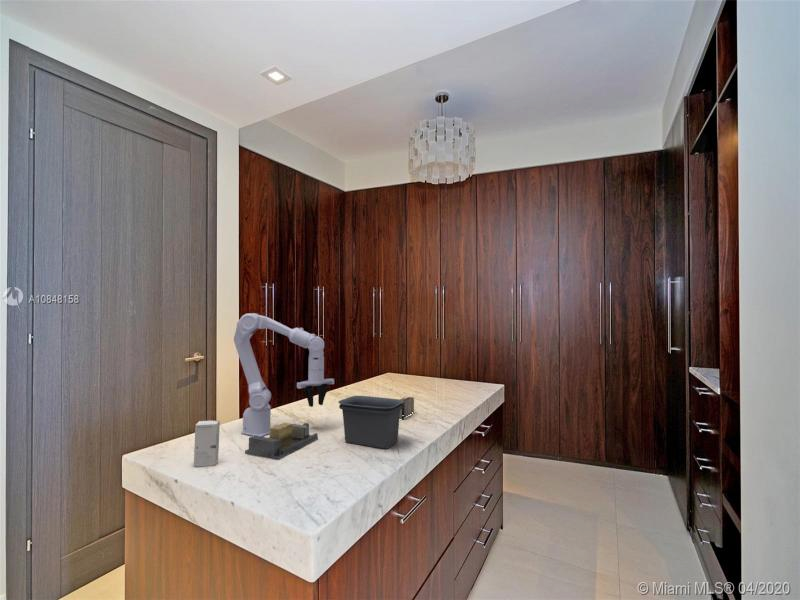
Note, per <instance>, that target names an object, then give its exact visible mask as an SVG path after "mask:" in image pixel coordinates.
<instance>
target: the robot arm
mask: <svg viewBox="0 0 800 600" xmlns="http://www.w3.org/2000/svg"><path fill="white" fill-rule="evenodd" d="M262 329H264V330H265V329H269V330H271V331H274V332H276V333H278V334H281V335H282V336H283V335H284V336H286V337H287V338H288V339H289V342H290V343H293V344H295V345H297V346H300V347H302V348H304V349H308V351H309V353H308V366H307V367H308V370H307V371H308V372H307V373H308V375H307V377H308V379H307V380H303V381H300V382H296V388H297V389H298V390H299V389H300V390H301V389H302V390H303V391H304V394H305V396H306V399H307V403H308V407H310V408H312V407H314V397H315V396H314V395H315V391H316V389H315V388H314V387H317V392H318V393H317V395H318V396H317V397H318V399H317V400H318V405H320V406H324V401H325V397H326V394H327V393H328V390H329V388H330V386H329V385H335V378H325V356H324V355H325V352H324V349H325V341H324V339H323V338H322V337H320V335H319V336H317V335H316V334H315V333H309V332H308V331H305V330H304V328H303V327H294V328H290V327H288V326H287V325H284V324H282V323H281V322H280V321H279V322H278V321H276V320H274V319H273V318H270V317H268V316H266V315H260V314H259V313H257V312H256V313H255V312H252V313H251V312H250V313H245V314H243V315H242V316H241V317H240V319H238V321H237V323H236V328H235V331H234V332H235V333H234V336H233V343H234V345H235V348H236V351H237V352H236V353H237V354H238V358H239V360H240V363H241V368H242V370H243V374H244V376H245V378H246V382H247V385H248V396H249V399H248V404H249V406H250V407H247V408H246V409H245V410H244V412H243V414H242V431H241V432H240V433H241V434H242V435H247V436H260V437H265V436H266V435H270V428H271V417H272V416H271V415H272V414H271V410H272V409H271V408H272V405H270V404H269V402H270V401H271V399H272V393H271V391H270V390H269V389H268V388H267V385H266V383H265V382H264V381H263V379H262V376H261V375H262V374H261V372H260V369H259V367H258V363H257V361H256V360H257V359H256V357H255V355H254V351H253V348H252V345H251V341H250V339H251V338H252V336H253V335H254V333H255V332H256V331H258V330H262Z"/></svg>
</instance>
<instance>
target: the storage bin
mask: <svg viewBox="0 0 800 600" xmlns="http://www.w3.org/2000/svg"><path fill="white" fill-rule="evenodd" d="M403 402H404V401H403V400H399V399H396V398H390V397H389V398H388V397H387V398H386V397H379V396H370V395H369V396H367V395H353V396H349V397H346V398H343V399H341V400H338V402H337V403H338V404H339V406H338V409H340V410H342V418H343V420H342V421H343V422H342V423H343V431H344V432H343V433H344V441H345V443H348V444H352V443H353V444H354V445H360V446H365V445H366V446H365V447H371V446H372V448H378V449H379V448H380V449H384V448H386V449H388V448H390V447H392V446H394V445H395V444H396V443H397V442H398V441H399V429H400V420H399V417H400V409H402V408H403V404H402V403H403ZM394 443H395V444H394Z"/></svg>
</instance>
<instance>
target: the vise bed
mask: <svg viewBox="0 0 800 600" xmlns="http://www.w3.org/2000/svg"><path fill="white" fill-rule="evenodd" d="M318 439H319V436H318V433H317V432H315V433H313V434H311V435H310V434H309V437H307V438H305V439H303V440H301V439H295V438H292V442H290V443H288V444H286V445H284V446H282V447H280V440H278V439H272V438H270V436H269V437H266V436H262V437H260V436H253V435H251V436H250V437H248V449H245V450H244V454H245V455H250V456H255V457H260V458H265V459H271V460H276V461H279V460H281V459H283V458H285V457H287V456H288V455H291V454H293V453H294V452H296V451H298V450H300V449H302V448H304V447H306V446H308V445H310V444H312V443H313V442H316V441H317V440H318Z"/></svg>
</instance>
